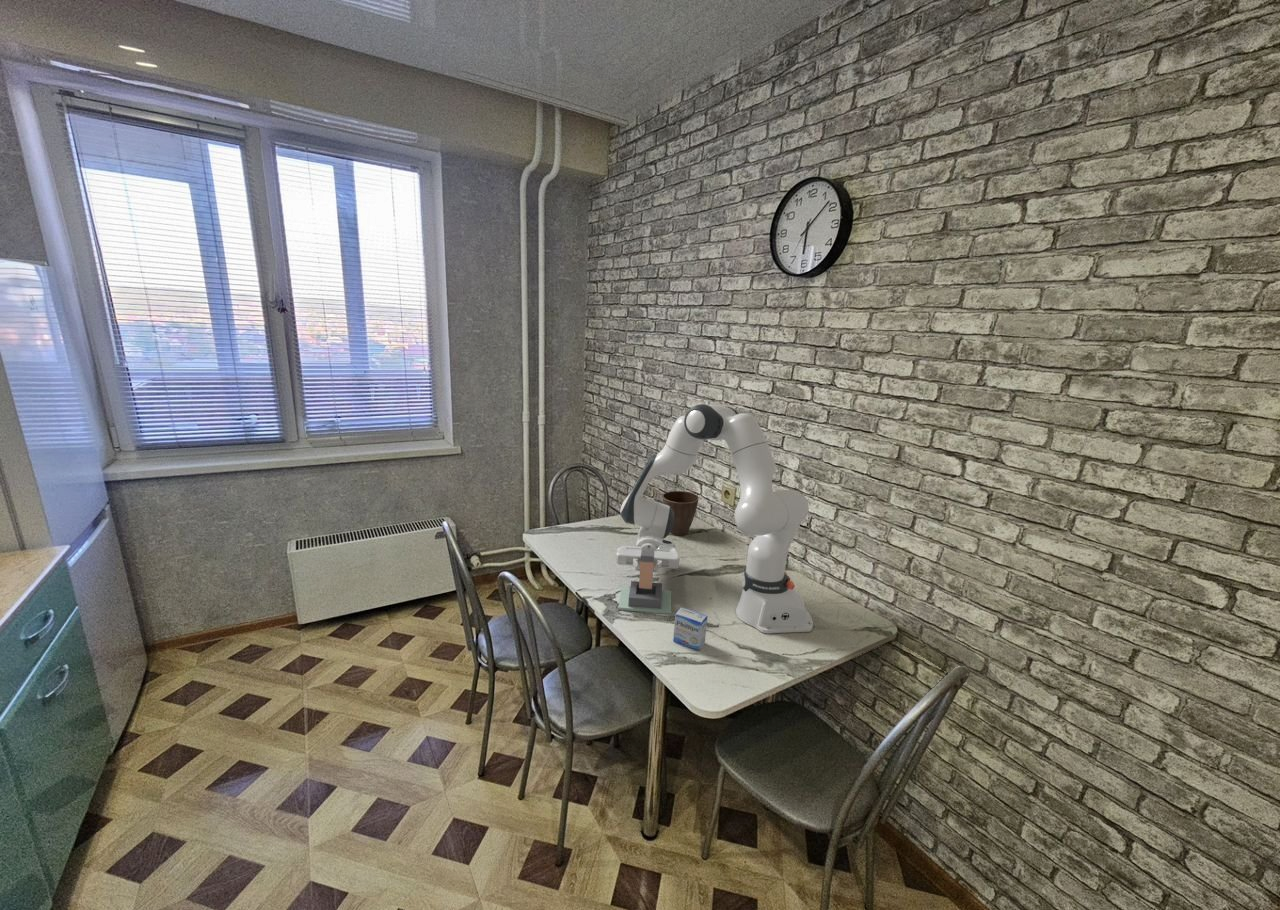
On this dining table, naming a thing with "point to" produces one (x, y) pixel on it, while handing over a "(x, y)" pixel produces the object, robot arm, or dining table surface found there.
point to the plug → (646, 569)
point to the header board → (664, 602)
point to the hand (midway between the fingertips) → (646, 569)
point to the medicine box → (690, 628)
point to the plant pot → (681, 510)
